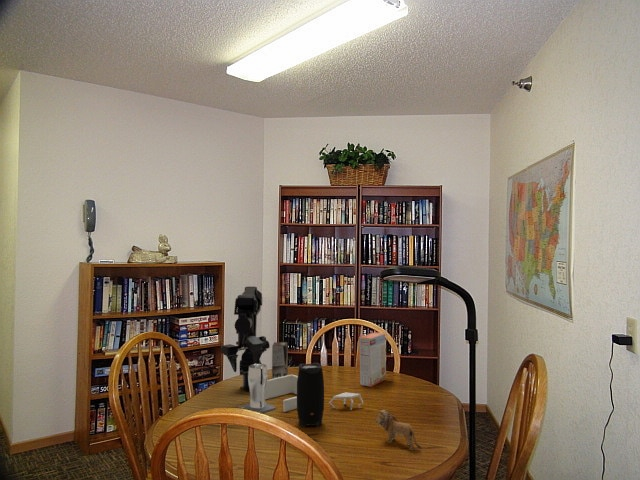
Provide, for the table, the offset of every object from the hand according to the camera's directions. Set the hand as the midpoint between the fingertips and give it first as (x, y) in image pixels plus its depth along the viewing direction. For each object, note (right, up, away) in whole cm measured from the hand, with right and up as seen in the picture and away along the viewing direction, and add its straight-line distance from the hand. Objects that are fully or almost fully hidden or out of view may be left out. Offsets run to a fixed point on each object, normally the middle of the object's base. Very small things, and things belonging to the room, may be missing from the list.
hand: (245, 369), depth 180 cm
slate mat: (+5, -13, -6) cm, 15 cm away
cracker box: (+51, -14, +28) cm, 60 cm away
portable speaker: (+25, -13, -20) cm, 35 cm away
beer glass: (+5, -12, -5) cm, 14 cm away
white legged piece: (+37, -13, -4) cm, 40 cm away
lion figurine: (+52, -13, -36) cm, 64 cm away
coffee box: (+10, -13, +31) cm, 36 cm away
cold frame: (+16, -13, +3) cm, 21 cm away
